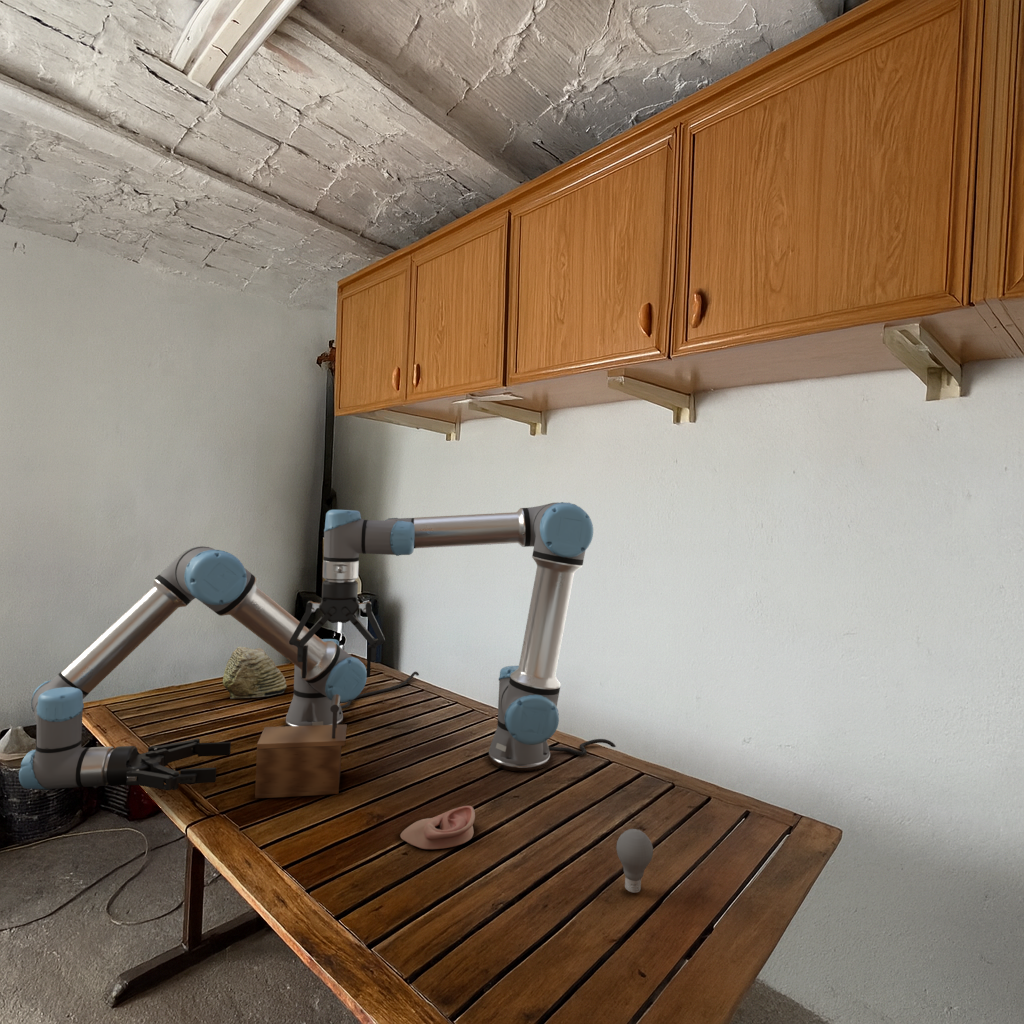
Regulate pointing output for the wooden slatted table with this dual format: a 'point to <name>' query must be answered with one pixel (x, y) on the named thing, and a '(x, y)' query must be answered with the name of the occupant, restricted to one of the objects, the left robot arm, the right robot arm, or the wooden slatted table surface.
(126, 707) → the wooden slatted table surface
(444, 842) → the anatomical model
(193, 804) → the wooden slatted table surface
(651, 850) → the light bulb
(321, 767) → the chest
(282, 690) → the fossil
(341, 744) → the lid
